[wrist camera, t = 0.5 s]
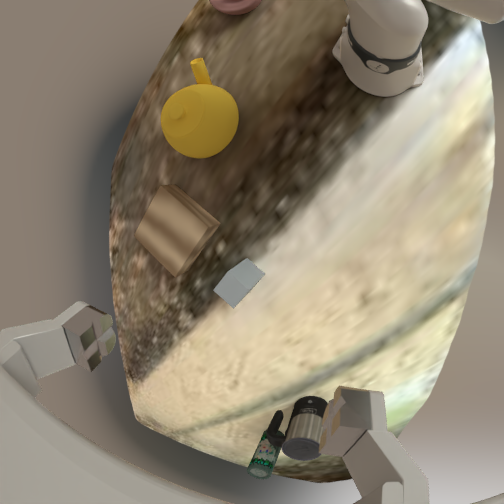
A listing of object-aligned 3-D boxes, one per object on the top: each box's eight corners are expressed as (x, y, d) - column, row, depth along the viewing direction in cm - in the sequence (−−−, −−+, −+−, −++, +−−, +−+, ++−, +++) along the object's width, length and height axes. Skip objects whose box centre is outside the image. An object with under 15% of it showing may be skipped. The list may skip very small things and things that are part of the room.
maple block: (176, 184, 61) (160, 185, 55) (221, 223, 59) (208, 227, 54) (149, 231, 66) (133, 235, 61) (189, 269, 65) (175, 277, 59)
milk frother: (324, 391, 60) (315, 435, 47) (341, 430, 61) (335, 472, 48) (272, 401, 66) (254, 441, 52) (293, 437, 67) (280, 476, 53)
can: (282, 430, 67) (267, 469, 53) (285, 442, 68) (271, 480, 54) (262, 428, 69) (245, 466, 55) (265, 440, 70) (249, 477, 56)
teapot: (190, 74, 53) (155, 54, 41) (255, 73, 49) (229, 46, 37) (175, 156, 59) (134, 152, 46) (238, 164, 55) (206, 158, 42)
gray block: (246, 257, 59) (227, 271, 50) (265, 273, 58) (249, 290, 49) (233, 274, 61) (213, 290, 51) (251, 290, 60) (233, 308, 51)
